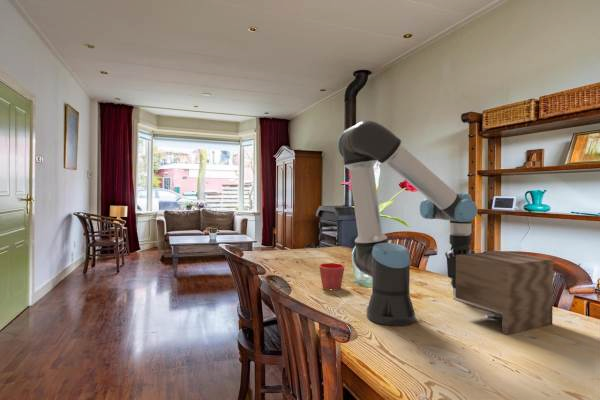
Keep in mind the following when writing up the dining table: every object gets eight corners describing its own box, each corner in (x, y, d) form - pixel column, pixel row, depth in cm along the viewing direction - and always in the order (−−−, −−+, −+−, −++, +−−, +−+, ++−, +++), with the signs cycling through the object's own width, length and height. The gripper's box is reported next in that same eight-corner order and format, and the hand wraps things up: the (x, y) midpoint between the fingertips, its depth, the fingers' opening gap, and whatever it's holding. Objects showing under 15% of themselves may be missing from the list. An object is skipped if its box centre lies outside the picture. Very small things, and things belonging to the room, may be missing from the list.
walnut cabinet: (506, 335, 101) (507, 264, 101) (455, 315, 117) (455, 255, 117) (552, 324, 110) (553, 259, 109) (498, 307, 126) (499, 250, 126)
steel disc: (497, 323, 111) (497, 320, 111) (481, 318, 115) (481, 315, 115) (505, 319, 114) (505, 316, 114) (489, 315, 118) (489, 312, 118)
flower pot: (348, 286, 154) (348, 264, 154) (337, 292, 144) (337, 269, 144) (326, 283, 159) (327, 262, 159) (314, 289, 150) (314, 266, 150)
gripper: (466, 232, 142) (465, 291, 142) (437, 234, 135) (436, 295, 135) (483, 234, 135) (482, 296, 135) (453, 236, 128) (452, 301, 128)
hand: (459, 295), depth 135 cm, fingers closed on scraper, 2 cm apart
